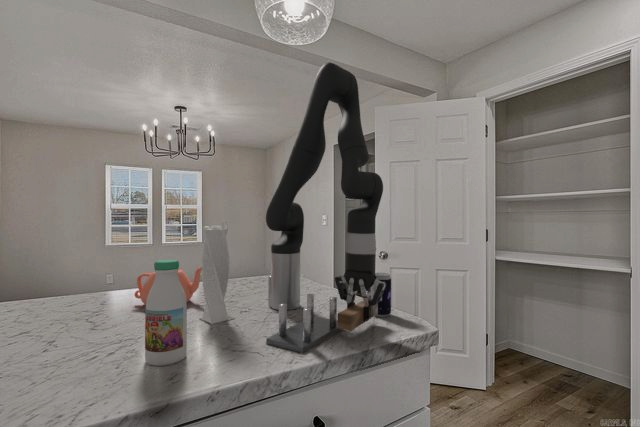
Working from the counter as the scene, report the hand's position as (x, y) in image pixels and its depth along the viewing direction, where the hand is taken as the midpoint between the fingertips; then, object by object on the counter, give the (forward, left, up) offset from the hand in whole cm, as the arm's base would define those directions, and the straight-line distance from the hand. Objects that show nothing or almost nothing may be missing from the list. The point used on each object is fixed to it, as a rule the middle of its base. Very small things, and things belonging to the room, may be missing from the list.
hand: (358, 318), depth 87 cm
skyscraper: (-37, -13, -4) cm, 40 cm away
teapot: (-63, -9, -3) cm, 64 cm away
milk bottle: (-26, -36, -3) cm, 45 cm away
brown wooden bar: (0, 0, 0) cm, 0 cm away
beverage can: (0, +16, -3) cm, 17 cm away
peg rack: (-9, -9, -3) cm, 13 cm away
